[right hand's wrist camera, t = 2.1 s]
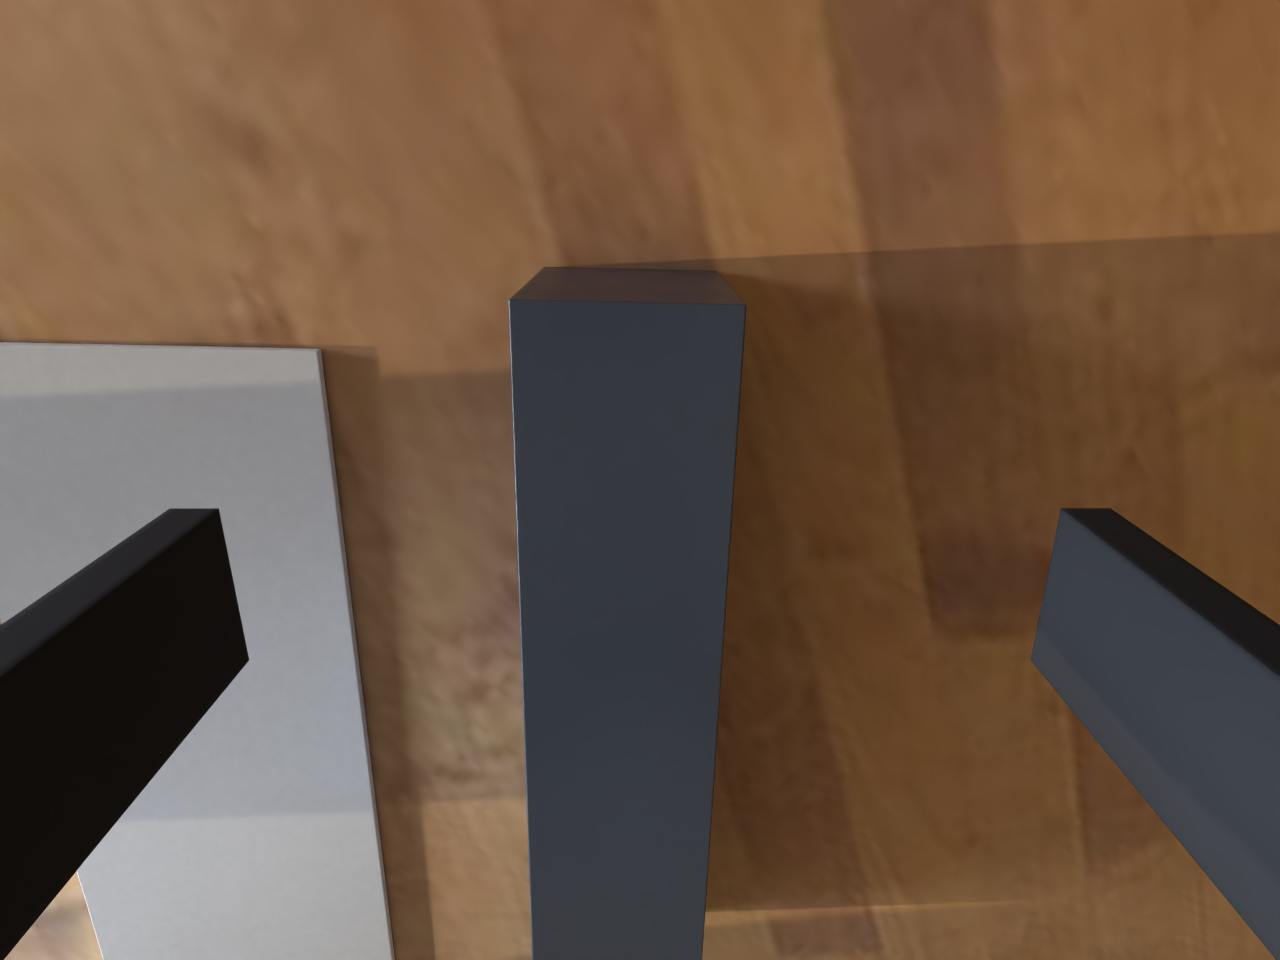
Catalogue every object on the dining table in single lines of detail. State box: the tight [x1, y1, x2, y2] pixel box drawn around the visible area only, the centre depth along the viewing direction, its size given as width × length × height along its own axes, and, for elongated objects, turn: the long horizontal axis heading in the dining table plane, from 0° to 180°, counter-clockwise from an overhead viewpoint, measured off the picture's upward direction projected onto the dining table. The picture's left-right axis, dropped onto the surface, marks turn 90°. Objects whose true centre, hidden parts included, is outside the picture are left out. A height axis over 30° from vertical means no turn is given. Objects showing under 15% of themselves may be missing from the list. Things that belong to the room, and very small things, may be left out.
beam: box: [508, 267, 746, 960], centre depth 29 cm, size 6×30×8 cm, turn 179°
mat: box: [0, 342, 395, 960], centre depth 34 cm, size 14×36×1 cm, turn 179°
